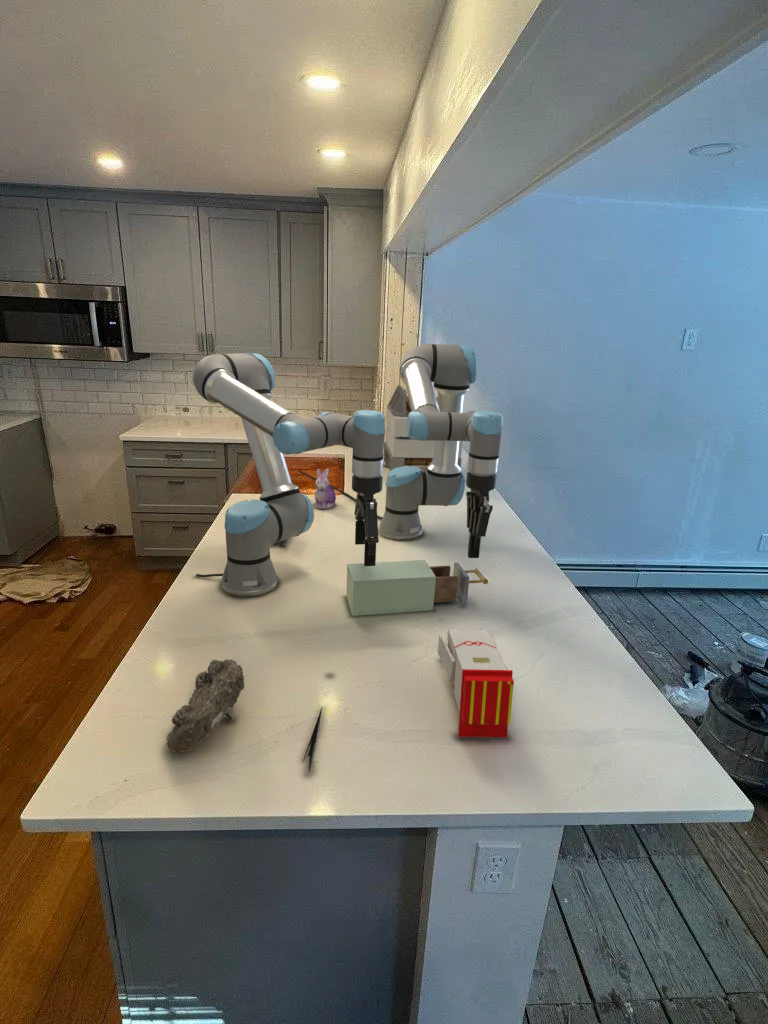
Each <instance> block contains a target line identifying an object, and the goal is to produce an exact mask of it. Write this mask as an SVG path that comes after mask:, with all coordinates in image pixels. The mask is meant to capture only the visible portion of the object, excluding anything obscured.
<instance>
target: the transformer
mask: <svg viewBox="0 0 768 1024" xmlns="http://www.w3.org/2000/svg"><path fill="white" fill-rule="evenodd" d="M435 397H436V400H437V397H438V396H435ZM410 412H412V411H411V406H410V402H409V397H408V393H407V389H404V388H403V387H402V385H399V384H398V385H397V386H396V388H395V390H394V392H393V394H392V395H391V398H390V400H389V402H388V404H387V405H386V413H385V414H386V415H385V424H386V425H385V438H384V450H383V461H384V462H385V465H383V466H384V467H388V468H389V471H391V470H392V469H394V468H398V467H403V466H412V467H427V466H428V465H429V464H430V463H432V457H433V445H434V441H426V440H425V441H420V440H412V439H410V438H409V437H408V435H407V417H408V414H409V413H410ZM463 442H464V441H459V451H458V461H457V464H458V466H459V467H460V468H461V469H462V461H463V460H462V453H463Z"/></svg>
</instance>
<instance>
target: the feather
mask: <svg viewBox="0 0 768 1024" xmlns="http://www.w3.org/2000/svg"><path fill="white" fill-rule="evenodd" d="M329 675H330V676H331V675H332V674H331V673H330V674H329ZM322 710H323V707H321V708H320V710H319V713H318V716H317V719H316V723H315V725H314V728H313V731H312V733H311V737H310V739H309V742H308V745H307V748H306V751H305V754H304V757H303V760H302V763H301V767H302V765H303V763H304V761H305V758H308V759H309V760H308V762H307V763H308V764H307V766H308V771H310V770H311V766H312V765H311V764H312V760H313V757H315V756H314V755H315V751H316V749H315V746H317V739H318V733H319V729H320V722H321V717H322V712H323V711H322ZM313 754H314V755H313ZM306 755H307V757H306Z"/></svg>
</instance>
